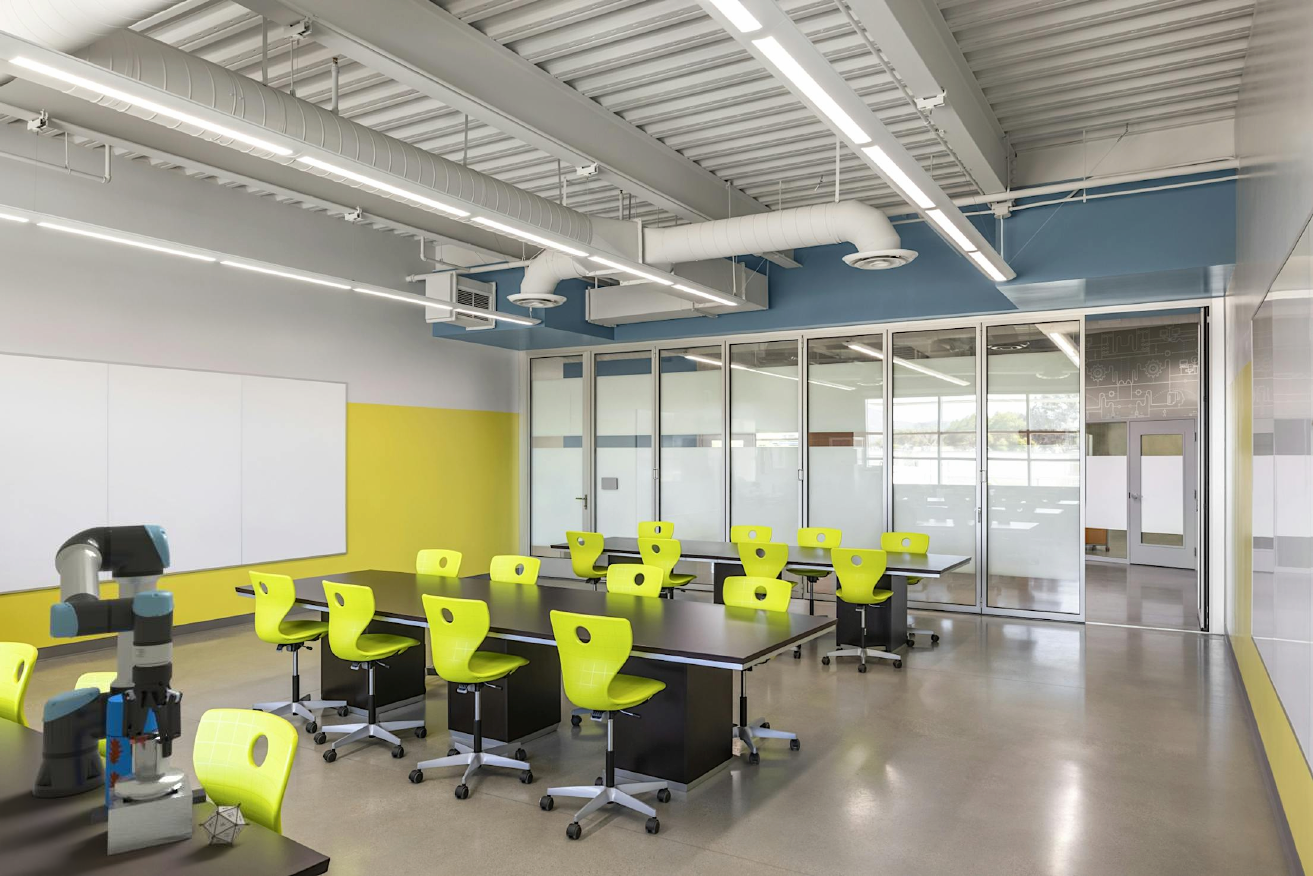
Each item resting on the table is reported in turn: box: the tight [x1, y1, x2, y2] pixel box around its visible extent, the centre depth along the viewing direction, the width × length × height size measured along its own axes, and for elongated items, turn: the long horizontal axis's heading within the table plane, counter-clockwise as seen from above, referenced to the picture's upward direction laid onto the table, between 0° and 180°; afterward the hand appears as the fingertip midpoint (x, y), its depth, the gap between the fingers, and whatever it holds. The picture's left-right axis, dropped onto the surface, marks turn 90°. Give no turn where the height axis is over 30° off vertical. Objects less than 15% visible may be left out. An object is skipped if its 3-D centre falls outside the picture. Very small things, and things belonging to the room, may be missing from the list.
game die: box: [198, 802, 251, 848], centre depth 174 cm, size 9×8×10 cm
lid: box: [115, 731, 186, 803], centre depth 180 cm, size 13×13×14 cm
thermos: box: [104, 694, 160, 806], centre depth 198 cm, size 11×11×25 cm
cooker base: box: [90, 774, 207, 856], centre depth 180 cm, size 15×21×9 cm
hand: (150, 771), depth 180 cm, fingers closed on lid, 5 cm apart
